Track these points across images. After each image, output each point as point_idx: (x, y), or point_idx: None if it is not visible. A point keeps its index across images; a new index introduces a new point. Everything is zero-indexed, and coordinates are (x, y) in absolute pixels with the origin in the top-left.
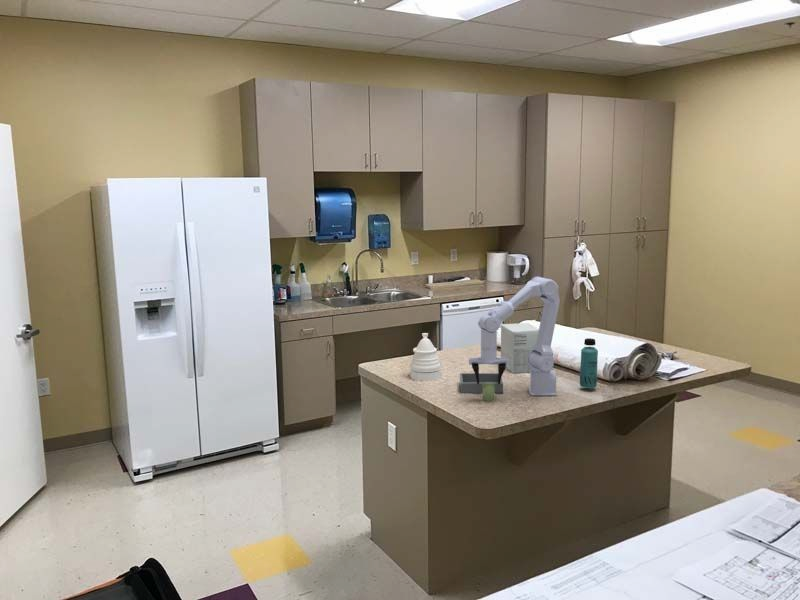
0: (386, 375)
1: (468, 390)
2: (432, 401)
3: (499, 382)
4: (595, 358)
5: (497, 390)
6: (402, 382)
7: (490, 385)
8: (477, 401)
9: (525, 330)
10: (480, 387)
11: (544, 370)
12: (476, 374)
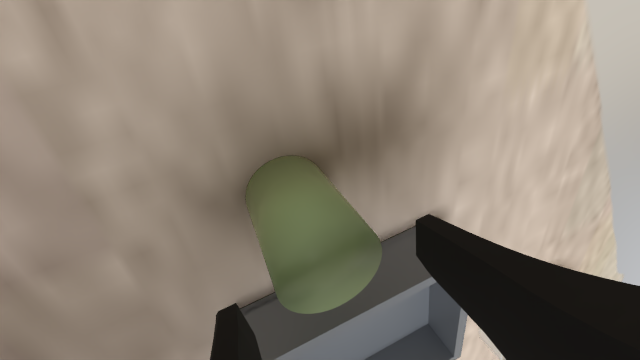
0: (603, 261)
1: (412, 243)
2: (574, 45)
3: (223, 321)
4: None
5: (262, 316)
6: (590, 231)
7: (308, 240)
8: (349, 127)
9: None
10: None
11: None
12: (536, 266)
